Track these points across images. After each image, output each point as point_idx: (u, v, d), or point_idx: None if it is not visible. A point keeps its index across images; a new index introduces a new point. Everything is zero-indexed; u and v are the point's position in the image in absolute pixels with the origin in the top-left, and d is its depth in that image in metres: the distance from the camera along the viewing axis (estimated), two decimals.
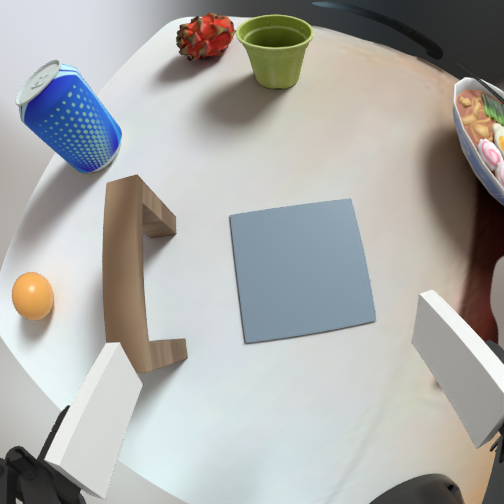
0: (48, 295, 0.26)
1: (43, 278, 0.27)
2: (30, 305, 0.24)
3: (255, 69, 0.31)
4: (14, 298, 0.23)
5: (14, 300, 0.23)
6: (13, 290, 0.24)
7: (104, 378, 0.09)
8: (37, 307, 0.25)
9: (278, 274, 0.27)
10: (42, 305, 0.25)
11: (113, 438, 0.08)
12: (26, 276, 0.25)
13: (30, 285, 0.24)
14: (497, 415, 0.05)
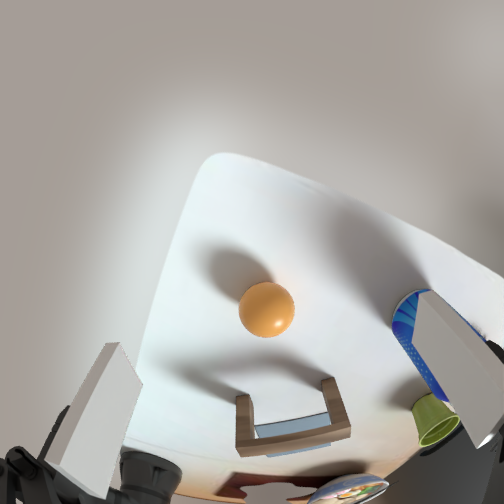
0: None
1: None
2: None
3: (427, 407, 0.39)
4: (262, 322, 0.27)
5: (259, 321, 0.27)
6: (271, 317, 0.27)
7: (104, 378, 0.09)
8: None
9: (293, 432, 0.43)
10: None
11: (113, 438, 0.08)
12: (289, 322, 0.28)
13: (279, 333, 0.29)
14: (497, 415, 0.05)
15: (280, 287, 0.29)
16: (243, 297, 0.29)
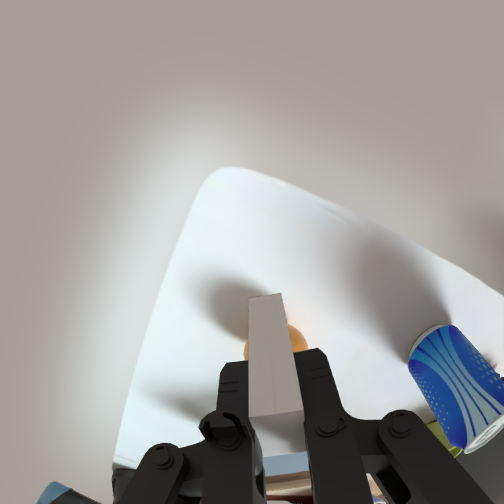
0: None
1: None
2: None
3: None
4: None
5: None
6: None
7: (268, 326, 0.11)
8: None
9: (293, 460, 0.38)
10: None
11: None
12: None
13: None
14: None
15: (294, 330, 0.24)
16: None
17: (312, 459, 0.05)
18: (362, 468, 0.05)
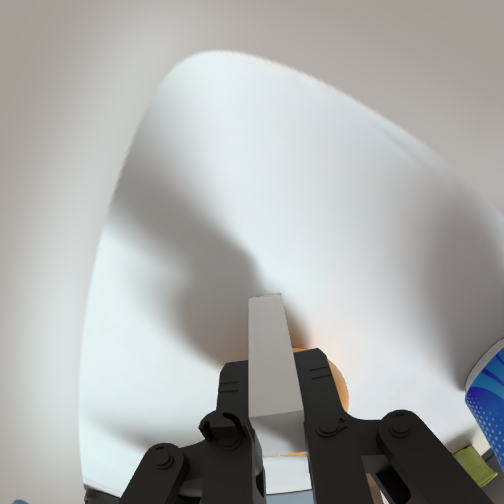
0: None
1: None
2: None
3: (463, 464, 0.23)
4: None
5: None
6: None
7: (268, 326, 0.11)
8: None
9: (298, 500, 0.26)
10: None
11: None
12: None
13: None
14: None
15: None
16: None
17: (312, 459, 0.05)
18: (362, 468, 0.05)
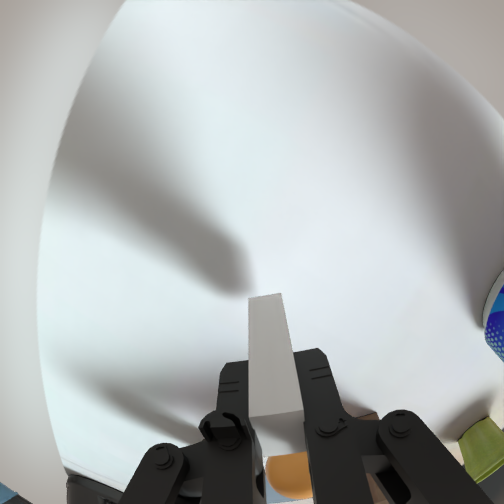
0: None
1: None
2: (287, 496, 0.15)
3: (482, 437, 0.21)
4: (294, 480, 0.15)
5: (291, 478, 0.15)
6: (308, 473, 0.15)
7: (268, 326, 0.11)
8: None
9: None
10: None
11: None
12: None
13: None
14: None
15: None
16: None
17: (312, 459, 0.05)
18: (362, 468, 0.05)
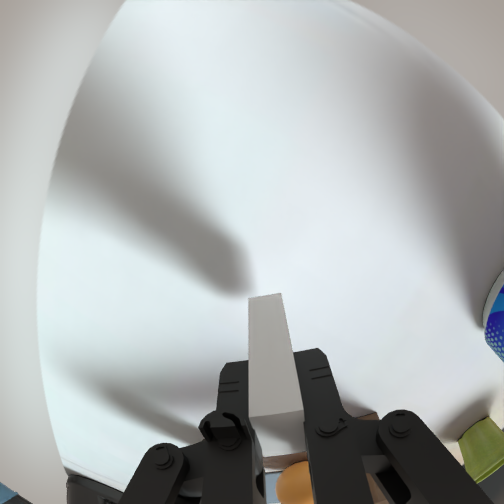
0: None
1: None
2: None
3: (482, 437, 0.21)
4: None
5: None
6: None
7: (268, 326, 0.11)
8: None
9: None
10: None
11: None
12: None
13: None
14: None
15: None
16: None
17: (312, 459, 0.05)
18: (362, 468, 0.05)
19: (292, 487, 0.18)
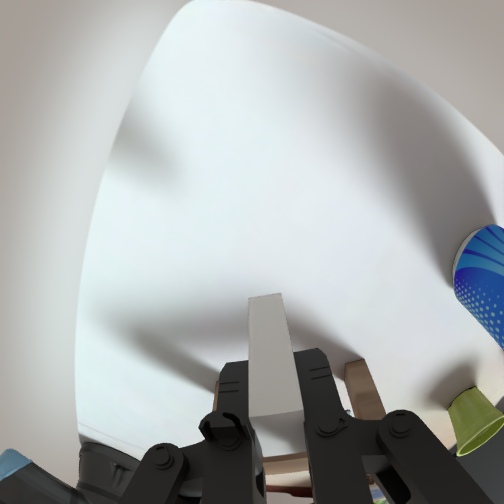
0: None
1: None
2: None
3: (470, 405, 0.26)
4: None
5: None
6: None
7: (268, 326, 0.11)
8: None
9: None
10: None
11: None
12: None
13: None
14: None
15: None
16: None
17: (312, 459, 0.05)
18: (362, 468, 0.05)
19: None
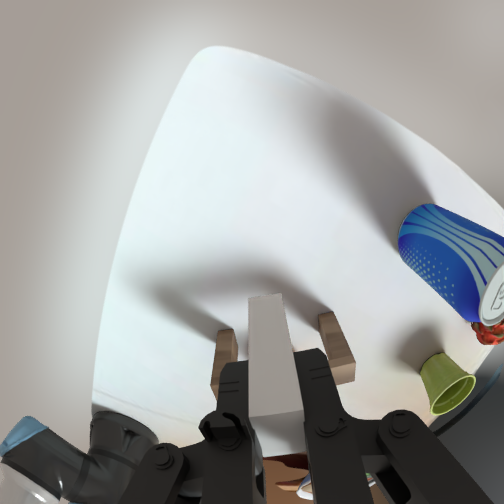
0: None
1: None
2: None
3: (438, 366, 0.36)
4: None
5: None
6: None
7: (268, 326, 0.11)
8: None
9: None
10: None
11: None
12: None
13: None
14: None
15: None
16: None
17: (312, 459, 0.05)
18: (362, 468, 0.05)
19: None
